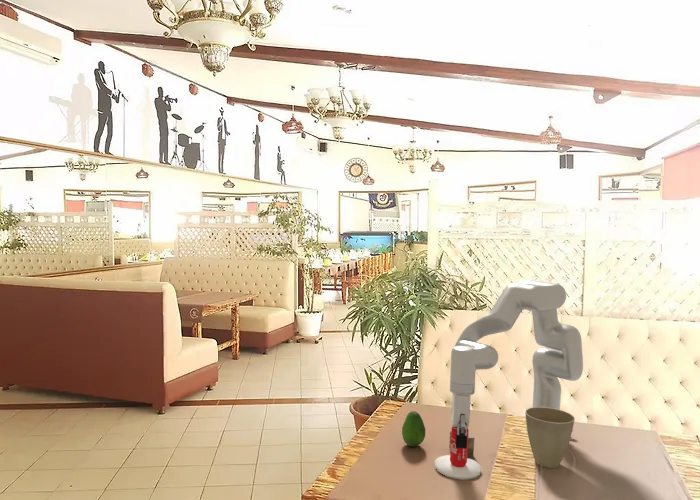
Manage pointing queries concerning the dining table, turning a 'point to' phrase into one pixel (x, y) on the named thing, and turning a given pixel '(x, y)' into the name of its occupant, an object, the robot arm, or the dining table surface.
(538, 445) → the plant pot
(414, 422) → the avocado
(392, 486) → the dining table surface
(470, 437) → the walnut block
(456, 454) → the beverage can
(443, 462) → the ceramic plate
